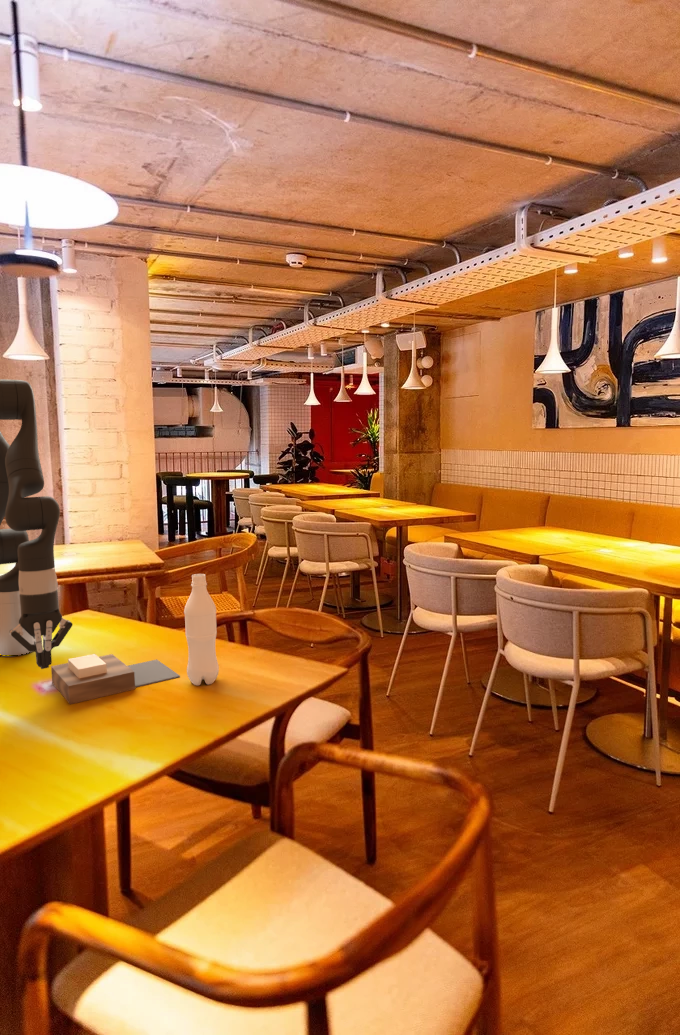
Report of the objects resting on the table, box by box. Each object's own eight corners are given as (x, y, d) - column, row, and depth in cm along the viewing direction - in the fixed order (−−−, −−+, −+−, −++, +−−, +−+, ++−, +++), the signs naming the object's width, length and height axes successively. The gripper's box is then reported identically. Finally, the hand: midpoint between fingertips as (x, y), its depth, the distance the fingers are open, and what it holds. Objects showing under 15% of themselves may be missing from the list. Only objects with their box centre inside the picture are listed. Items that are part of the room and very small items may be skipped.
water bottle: (225, 678, 154) (221, 573, 151) (206, 689, 147) (202, 579, 145) (200, 674, 157) (195, 571, 154) (180, 684, 150) (175, 577, 148)
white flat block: (68, 667, 152) (67, 659, 151) (95, 662, 155) (94, 653, 155) (79, 678, 144) (78, 669, 144) (106, 672, 148) (106, 663, 148)
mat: (113, 669, 161) (113, 668, 161) (156, 660, 168) (156, 659, 168) (133, 687, 149) (133, 686, 149) (180, 676, 156) (179, 675, 156)
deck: (52, 683, 153) (51, 666, 153) (113, 669, 161) (112, 654, 161) (69, 704, 140) (68, 686, 140) (135, 688, 148) (134, 671, 148)
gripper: (66, 582, 149) (71, 657, 151) (1, 591, 141) (7, 669, 143) (75, 587, 143) (80, 665, 145) (7, 597, 135) (14, 678, 137)
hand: (44, 667), depth 144 cm, fingers closed
